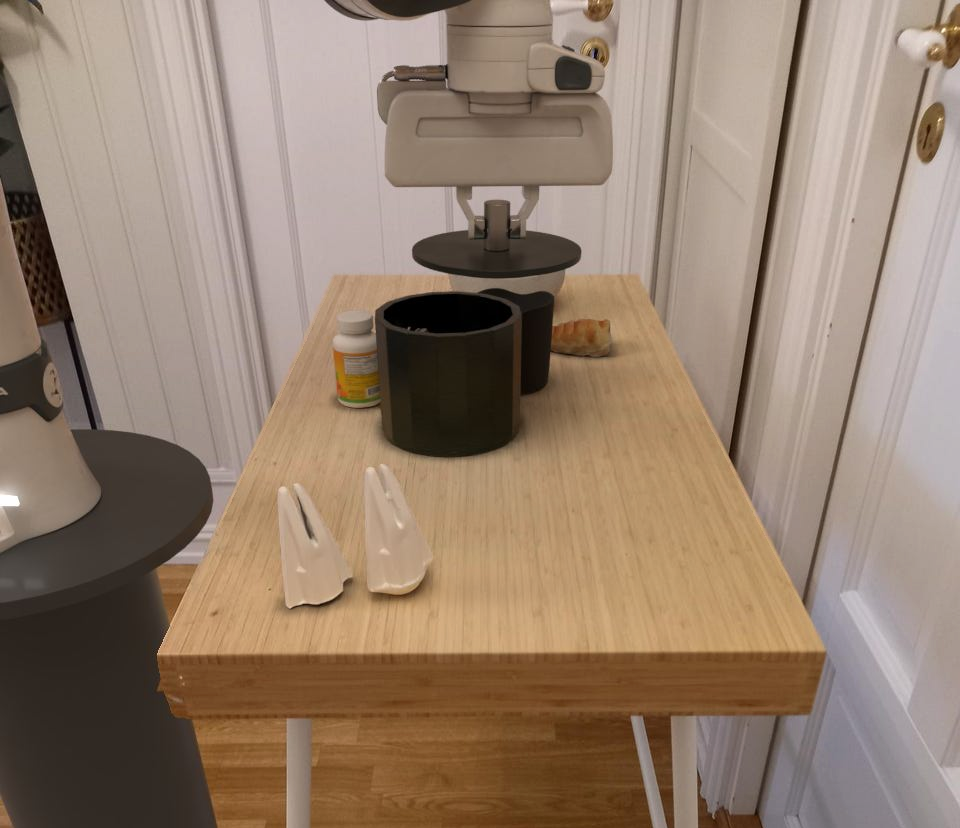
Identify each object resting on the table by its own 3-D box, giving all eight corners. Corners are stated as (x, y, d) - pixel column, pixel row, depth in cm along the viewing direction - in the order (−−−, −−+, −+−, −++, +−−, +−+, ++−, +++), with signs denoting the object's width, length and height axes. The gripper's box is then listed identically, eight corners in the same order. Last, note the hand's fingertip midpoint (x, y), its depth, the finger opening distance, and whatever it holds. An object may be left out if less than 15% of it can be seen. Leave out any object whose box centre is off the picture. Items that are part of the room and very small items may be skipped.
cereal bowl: (440, 296, 146) (439, 246, 141) (548, 289, 148) (549, 240, 144) (459, 331, 132) (458, 278, 128) (577, 323, 134) (579, 271, 130)
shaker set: (434, 574, 81) (429, 451, 74) (436, 601, 77) (431, 475, 71) (289, 581, 80) (271, 458, 73) (285, 609, 76) (266, 482, 70)
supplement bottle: (341, 391, 114) (334, 308, 109) (387, 391, 114) (381, 308, 109) (334, 408, 110) (326, 323, 104) (381, 409, 110) (375, 323, 104)
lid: (412, 286, 84) (410, 222, 81) (411, 242, 97) (409, 185, 94) (593, 283, 85) (597, 220, 82) (568, 240, 98) (571, 184, 95)
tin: (382, 459, 99) (373, 338, 92) (383, 404, 111) (376, 293, 104) (525, 454, 100) (528, 333, 92) (511, 400, 112) (513, 289, 104)
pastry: (537, 356, 124) (538, 326, 122) (540, 339, 129) (541, 310, 127) (611, 358, 123) (613, 328, 121) (611, 341, 128) (613, 312, 126)
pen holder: (520, 363, 122) (521, 281, 116) (567, 385, 115) (571, 300, 109) (458, 379, 117) (456, 295, 112) (503, 403, 111) (503, 315, 105)
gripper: (374, 68, 78) (383, 247, 86) (623, 68, 79) (610, 244, 87) (376, 62, 84) (385, 231, 92) (610, 61, 85) (598, 228, 93)
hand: (496, 238), depth 90 cm, fingers closed on lid, 2 cm apart
